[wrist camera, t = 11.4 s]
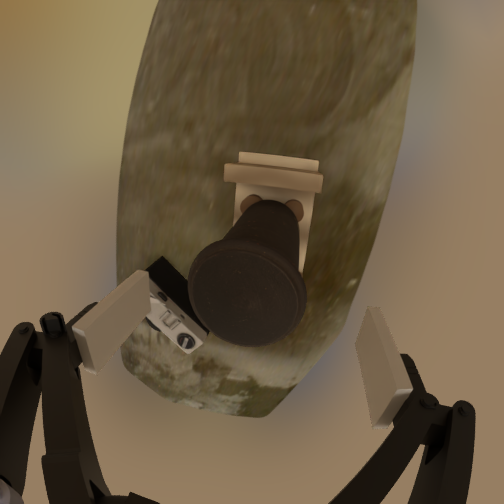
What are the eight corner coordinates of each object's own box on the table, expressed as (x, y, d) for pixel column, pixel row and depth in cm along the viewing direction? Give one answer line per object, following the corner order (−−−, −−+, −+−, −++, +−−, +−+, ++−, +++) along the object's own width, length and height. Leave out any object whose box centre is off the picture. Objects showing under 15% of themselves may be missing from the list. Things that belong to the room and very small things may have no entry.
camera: (136, 277, 48) (107, 301, 39) (170, 249, 46) (143, 271, 37) (184, 334, 51) (166, 367, 42) (221, 312, 49) (207, 346, 39)
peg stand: (240, 151, 39) (226, 150, 31) (318, 160, 38) (325, 162, 29) (230, 280, 46) (215, 308, 37) (298, 290, 45) (298, 321, 36)
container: (252, 270, 40) (216, 365, 22) (226, 211, 38) (161, 267, 19) (311, 249, 38) (322, 339, 19) (286, 187, 36) (277, 222, 17)
